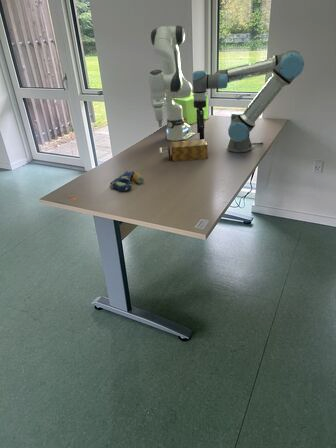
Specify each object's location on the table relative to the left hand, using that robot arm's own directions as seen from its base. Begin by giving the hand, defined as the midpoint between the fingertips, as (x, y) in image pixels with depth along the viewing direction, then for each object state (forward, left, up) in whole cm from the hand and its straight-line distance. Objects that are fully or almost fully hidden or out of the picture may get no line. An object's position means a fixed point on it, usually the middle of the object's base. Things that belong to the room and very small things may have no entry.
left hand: (160, 124), depth 202 cm
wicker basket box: (-11, +12, -22) cm, 27 cm away
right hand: (-16, +18, -9) cm, 26 cm away
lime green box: (-81, -45, -22) cm, 95 cm away
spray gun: (+39, +10, -22) cm, 46 cm away
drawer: (-7, +8, -20) cm, 23 cm away
